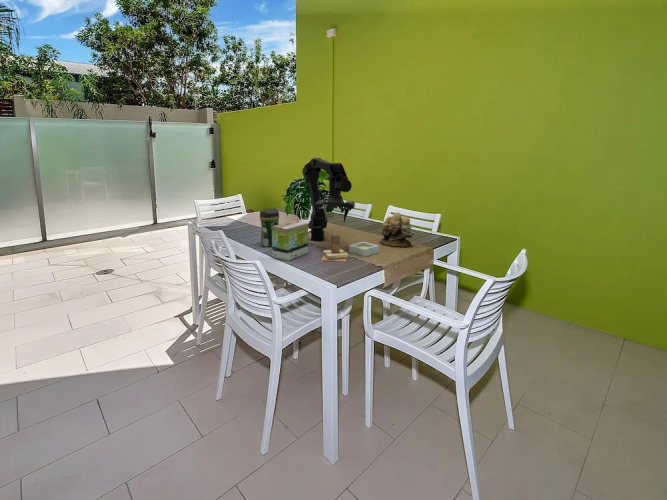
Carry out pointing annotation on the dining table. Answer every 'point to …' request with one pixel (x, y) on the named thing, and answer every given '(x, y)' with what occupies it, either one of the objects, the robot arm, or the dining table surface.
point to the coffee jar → (268, 225)
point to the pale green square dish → (364, 249)
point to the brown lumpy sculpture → (396, 231)
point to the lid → (335, 248)
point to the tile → (334, 259)
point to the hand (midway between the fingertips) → (335, 222)
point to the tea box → (289, 240)
